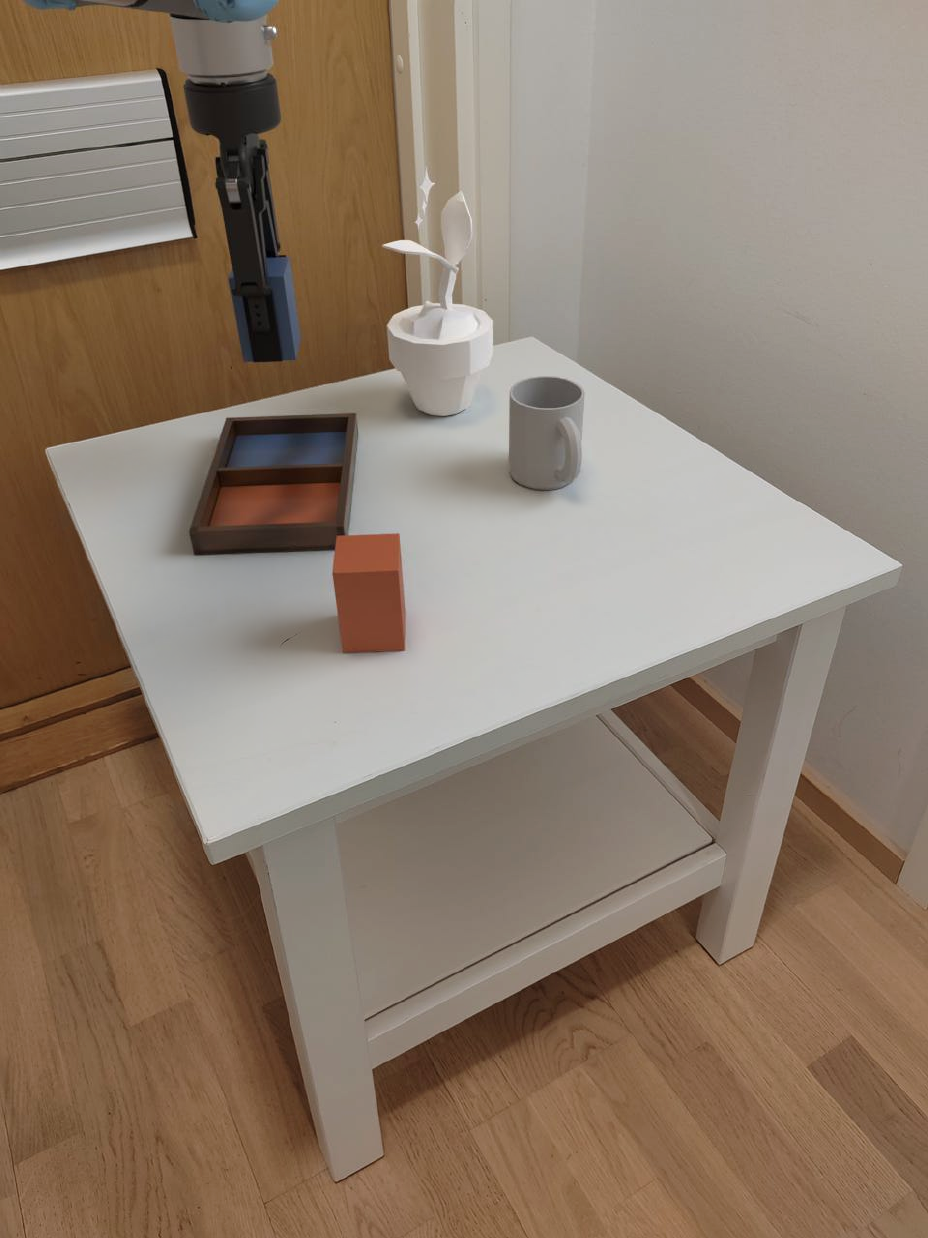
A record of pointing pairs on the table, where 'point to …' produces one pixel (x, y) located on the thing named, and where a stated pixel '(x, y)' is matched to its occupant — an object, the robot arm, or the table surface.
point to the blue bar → (284, 307)
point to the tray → (278, 485)
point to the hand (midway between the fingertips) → (271, 347)
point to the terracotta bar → (369, 592)
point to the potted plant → (441, 325)
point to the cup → (545, 432)
